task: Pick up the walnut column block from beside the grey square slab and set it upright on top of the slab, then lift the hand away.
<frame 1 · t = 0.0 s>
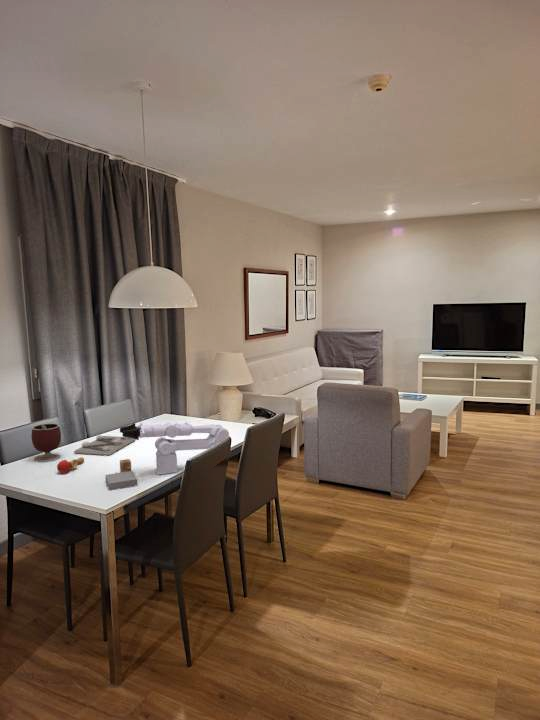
hand: (121, 431, 228), 22 cm above the table, tool horizontal, fingers open, 7 cm apart
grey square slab: (121, 483, 224), on the table
kendama: (71, 469, 245), on the table
walnut block: (125, 473, 237), on the table
mate gourd: (47, 459, 260), on the table
decorative plate: (106, 448, 280), on the table
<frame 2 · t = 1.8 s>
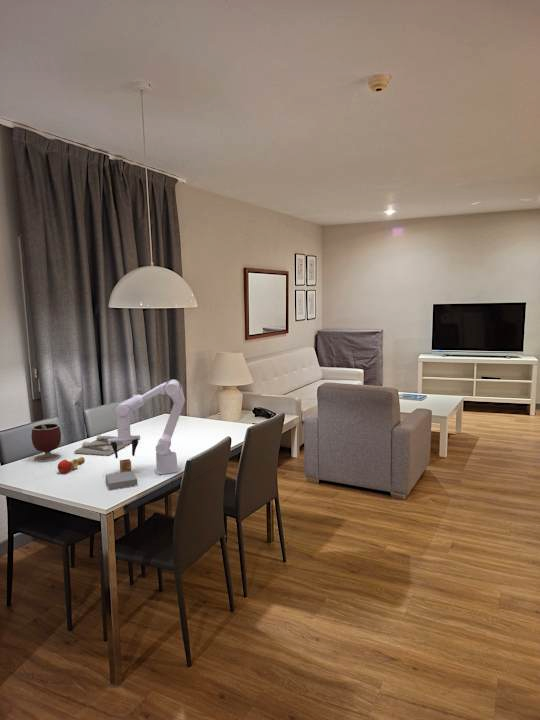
hand: (125, 456, 236), 8 cm above the table, tool pointing down, fingers open, 7 cm apart
nothing on the table moved.
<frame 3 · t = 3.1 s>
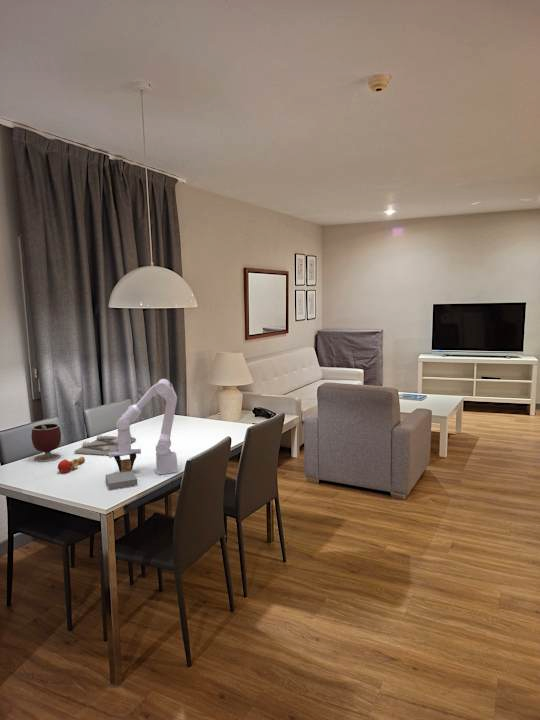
hand: (125, 470, 237), 1 cm above the table, tool pointing down, fingers closed on walnut block, 4 cm apart
walnut block: (125, 473, 237), on the table, touching gripper
everything else where it was.
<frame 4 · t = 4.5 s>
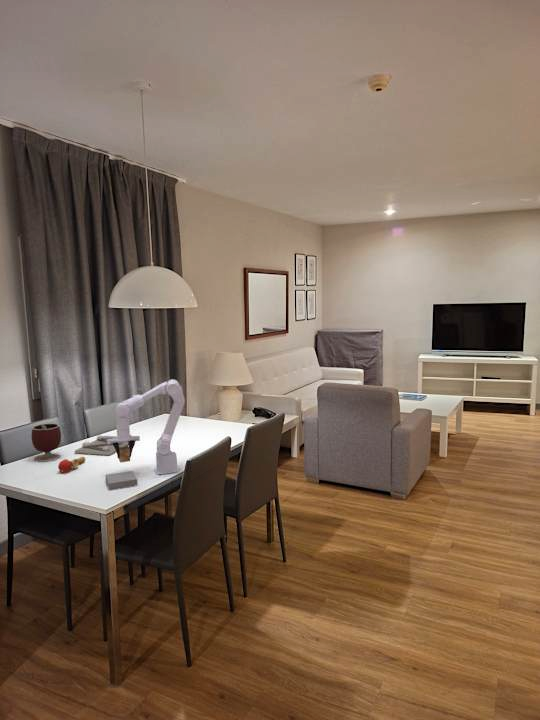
hand: (124, 457, 234), 8 cm above the table, tool pointing down, fingers closed on walnut block, 4 cm apart
walnut block: (124, 460, 235), point 7 cm above the table, touching gripper
everything else where it was.
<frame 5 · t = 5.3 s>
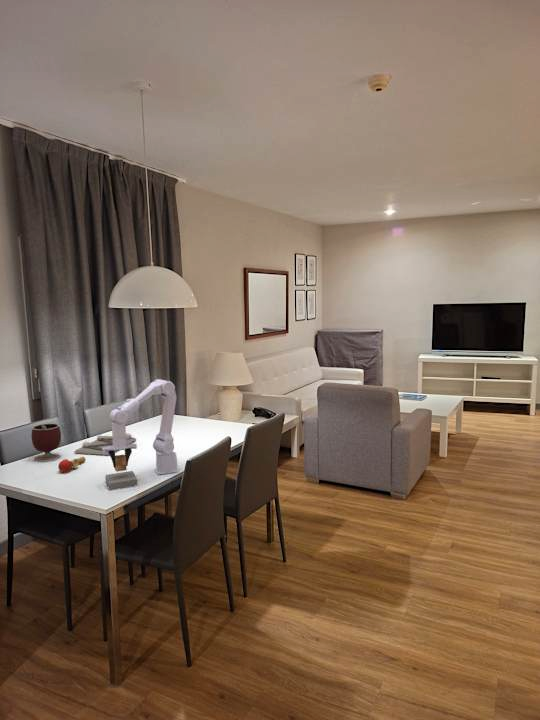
hand: (120, 466, 223), 8 cm above the table, tool pointing down, fingers closed on walnut block, 4 cm apart
walnut block: (120, 469, 223), point 6 cm above the table, touching gripper
everything else where it was.
when the fingers open (6 cm above the table, at t = 6.1 s): walnut block drops 1 cm, resting on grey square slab.
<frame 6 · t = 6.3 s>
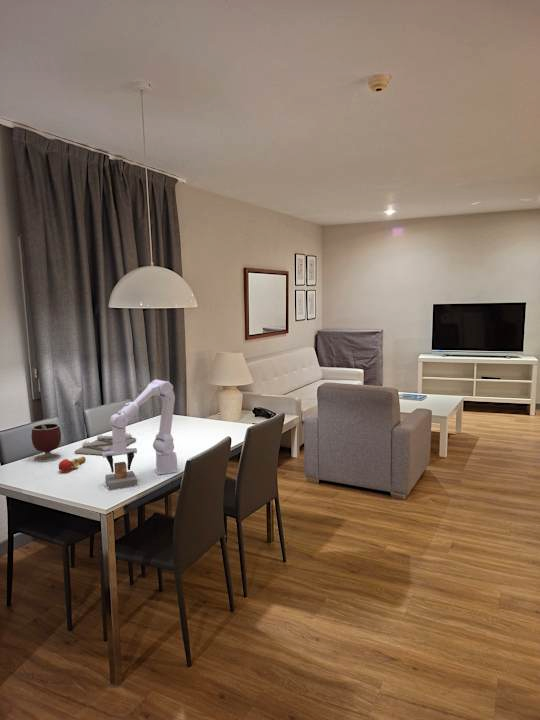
hand: (120, 470, 223), 6 cm above the table, tool pointing down, fingers open, 6 cm apart
walnut block: (120, 476, 224), point 3 cm above the table, touching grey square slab
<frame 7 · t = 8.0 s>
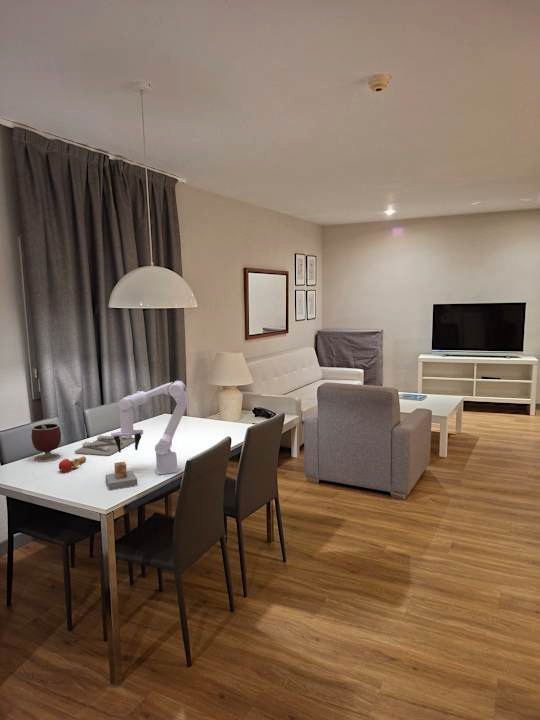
hand: (128, 450, 238), 10 cm above the table, tool pointing down, fingers open, 7 cm apart
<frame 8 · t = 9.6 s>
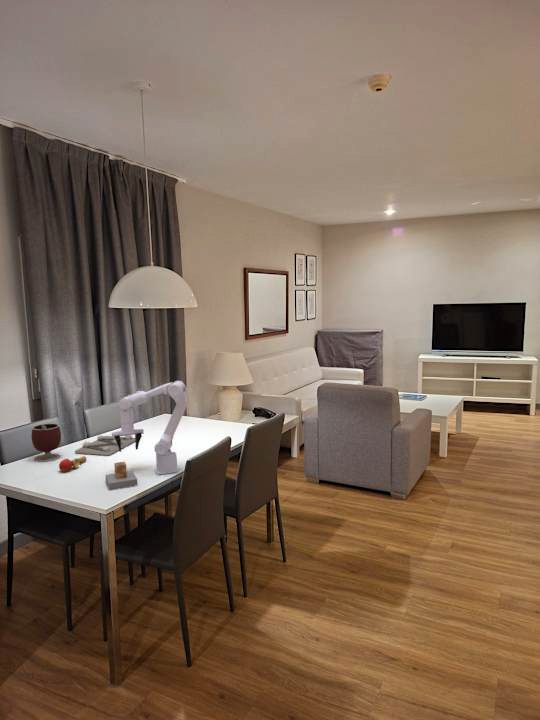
hand: (128, 450, 239), 10 cm above the table, tool pointing down, fingers open, 7 cm apart
at the end: walnut block 0.3 cm off-centre on the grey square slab, point 3.0 cm above the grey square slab's base; walnut block tilted 0°; the gripper is holding nothing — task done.
